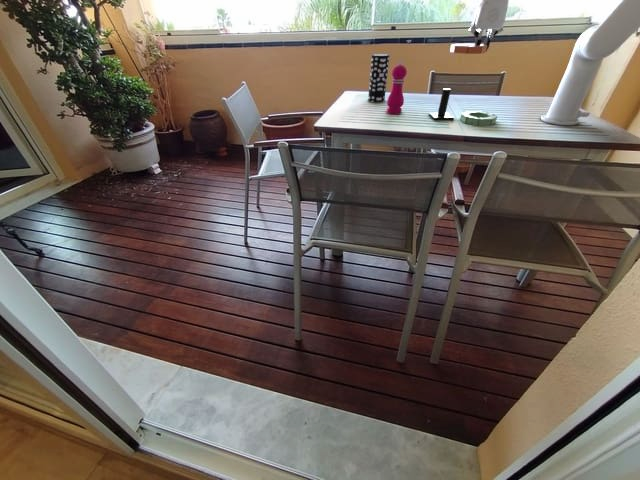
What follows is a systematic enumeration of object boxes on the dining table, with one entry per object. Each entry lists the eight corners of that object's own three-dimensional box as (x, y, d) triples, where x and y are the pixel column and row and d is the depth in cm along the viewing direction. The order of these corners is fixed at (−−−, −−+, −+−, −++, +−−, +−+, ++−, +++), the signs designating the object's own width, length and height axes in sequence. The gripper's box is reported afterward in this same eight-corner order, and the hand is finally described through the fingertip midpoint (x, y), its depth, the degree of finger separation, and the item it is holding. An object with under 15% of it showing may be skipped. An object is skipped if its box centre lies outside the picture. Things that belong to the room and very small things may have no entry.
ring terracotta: (476, 50, 123) (478, 43, 121) (489, 53, 113) (492, 46, 112) (446, 50, 123) (447, 43, 122) (457, 53, 113) (459, 46, 112)
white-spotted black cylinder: (372, 98, 157) (376, 53, 145) (387, 100, 153) (392, 54, 141) (365, 101, 152) (368, 55, 140) (379, 103, 148) (384, 56, 136)
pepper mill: (382, 112, 133) (388, 61, 121) (391, 109, 137) (397, 59, 125) (396, 115, 129) (404, 62, 117) (405, 112, 133) (413, 60, 121)
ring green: (485, 116, 126) (487, 110, 125) (500, 125, 116) (502, 119, 115) (456, 117, 126) (458, 111, 125) (468, 125, 116) (470, 119, 115)
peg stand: (446, 114, 129) (453, 86, 123) (453, 120, 123) (460, 90, 116) (428, 115, 129) (434, 87, 123) (434, 120, 123) (440, 91, 116)
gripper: (478, -10, 104) (463, 52, 115) (524, -10, 104) (505, 52, 115) (469, -9, 110) (456, 50, 121) (513, -9, 110) (496, 50, 121)
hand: (480, 50), depth 118 cm, fingers closed on ring terracotta, 2 cm apart
